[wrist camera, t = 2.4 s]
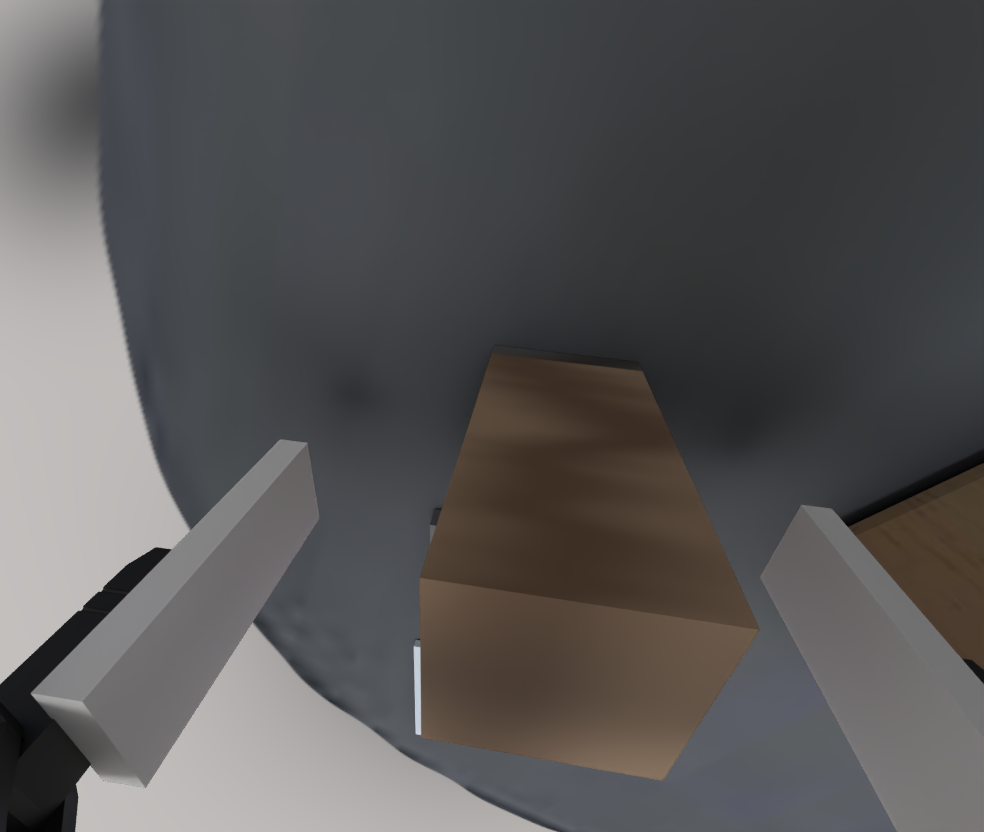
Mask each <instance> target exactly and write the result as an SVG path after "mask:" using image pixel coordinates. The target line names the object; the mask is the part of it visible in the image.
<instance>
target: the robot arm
mask: <svg viewBox="0 0 984 832" xmlns="http://www.w3.org/2000/svg"><path fill="white" fill-rule="evenodd" d="M318 520H319V512H318V506H317V500H316V494H315V487H314V481H313V475H312V468H311V462H310V456H309V450H308V443H304V442H296V441H288V440H279V441H278V442H277V443H276V444H275V445H274V446H273V447H272V448H271V449H270V450H269V451H268V452H267V453H266V454H265V455H264V456H263V458H262V459H261V460H260V461H259V462H258V463H257V464H256V465H255V466H254V467H253V468H252V469H251V470H250V471H249V472H248V473H247V474H246V475H245V476H244V477H243V478H242V479H241V480H240V481H239V482H238V483H237V484H236V485H235V486H234V487H233V488H232V489H231V490H230V491H229V492H228V493H227V494H226V495H225V496H224V497H223V498H222V499H221V500H220V501H219V502H218V503H217V504H216V505H215V506H214V507H213V508H212V509H211V510H210V511H209V512H208V513H207V514H206V515H205V516H204V518H203V519H202V520H201V521H200V522H199V523H198V524H197V525H196V526H195V527H194V528H193V529H192V530H191V531H190V532H189V533H188V534H187V535H186V536H185V537H184V538H183V539H182V540H181V541H180V542H179V543H178V544H177V545H176V546H175V547H174V548H173V549H164V548H154V549H152V550H151V551H150V552H147V553H146V554H145V555H143V556H141V557H139V558H138V559H136V560H134V561H133V562H131V563H129V564H128V565H126V566H125V567H124V568H123V569H122V570H121V571H120V572H119V573H118V574H117V575H116V576H115V577H114V578H113V579H112V580H110V581H109V582H108V583H107V584H106V585H105V586H104V587H103V590H102V592H98V593H97V594H96V595H95V596H93V597H92V598H91V599H90V600H89V601H88V602H87V603H86V604H85V605H84V606H83V610H81V611H78V612H76V614H74V615H73V616H72V617H71V618H70V619H69V620H68V621H67V622H66V623H65V624H64V625H63V626H62V627H61V628H60V629H59V630H57V631H56V632H55V633H54V634H53V635H52V636H51V637H50V638H49V639H48V640H47V641H46V642H45V643H44V644H43V645H42V646H40V647H39V648H38V649H37V650H36V651H35V652H34V653H33V654H32V655H31V656H30V657H29V658H28V659H27V660H26V661H25V662H23V664H21V665H20V666H19V667H18V668H17V669H16V670H15V671H14V672H13V673H12V674H11V675H10V676H9V677H8V678H7V679H5V680H4V681H3V682H2V683H1V684H0V832H75V827H76V826H75V825H76V815H77V805H78V793H77V788H76V783H77V782H78V781H79V779H80V778H81V776H82V775H83V774H84V773H85V771H86V770H87V769H88V767H89V766H91V767H92V768H93V769H94V770H95V772H96V773H97V774H98V775H99V776H100V778H101V779H102V780H103V781H107V782H113V783H119V784H125V785H131V786H137V787H143V788H146V787H147V785H148V783H149V782H150V780H151V779H152V777H153V776H154V774H155V773H156V771H157V770H158V768H159V766H160V765H161V763H162V762H163V760H164V759H165V757H166V756H167V754H168V752H169V751H170V749H171V748H172V746H173V745H174V743H175V742H176V740H177V738H178V737H179V735H180V734H181V732H182V731H183V729H184V728H185V726H186V725H187V723H188V721H189V720H190V718H191V717H192V715H193V714H194V712H195V711H196V709H197V708H198V706H199V704H200V703H201V701H202V700H203V698H204V697H205V695H206V694H207V692H208V690H209V689H210V687H211V686H212V684H213V683H214V681H215V679H216V678H217V677H218V675H219V673H220V672H221V670H222V669H223V667H224V666H225V664H226V662H227V661H228V659H229V658H230V656H231V655H232V653H233V652H234V650H235V649H236V647H237V646H238V644H239V642H240V641H241V639H242V638H243V636H244V635H245V633H246V632H247V630H248V628H249V627H250V625H251V624H252V622H253V621H254V619H255V618H256V616H257V614H258V613H259V611H260V610H261V608H262V607H263V605H264V604H265V602H266V601H267V599H268V597H269V596H270V594H271V593H272V591H273V590H274V588H275V587H276V585H277V583H278V582H279V580H280V579H281V577H282V576H283V574H284V573H285V571H286V570H287V568H288V566H289V565H290V563H291V562H292V560H293V559H294V557H295V556H296V554H297V552H298V551H299V549H300V548H301V546H302V545H303V543H304V542H305V540H306V538H307V537H308V535H309V534H310V532H311V531H312V529H313V528H314V526H315V525H316V523H317V521H318ZM760 579H761V580H762V582H763V584H764V586H765V588H766V590H767V592H768V593H769V595H770V597H771V599H772V601H773V603H774V605H775V606H776V608H777V610H778V612H779V614H780V616H781V618H782V619H783V621H784V623H785V625H786V627H787V629H788V630H789V632H790V634H791V636H792V638H793V640H794V642H795V643H796V645H797V647H798V649H799V651H800V653H801V655H802V656H803V658H804V660H805V662H806V664H807V666H808V668H809V669H810V671H811V673H812V675H813V677H814V679H815V681H816V682H817V684H818V686H819V688H820V690H821V692H822V693H823V695H824V697H825V699H826V701H827V703H828V705H829V706H830V708H831V710H832V712H833V714H834V716H835V718H836V719H837V721H838V723H839V725H840V727H841V729H842V731H843V732H844V734H845V736H846V738H847V740H848V742H849V743H850V745H851V747H852V749H853V751H854V753H855V755H856V756H857V758H858V760H859V762H860V764H861V766H862V768H863V769H864V771H865V773H866V775H867V777H868V779H869V781H870V782H871V784H872V786H873V788H874V790H875V792H876V794H877V795H878V797H879V799H880V801H881V803H882V805H883V806H884V808H885V810H886V812H887V814H888V816H889V818H890V819H891V821H892V823H893V825H894V827H895V829H896V831H897V832H984V670H983V669H982V668H981V667H980V666H979V665H977V664H976V663H975V662H974V661H972V660H969V659H962V658H961V657H960V656H959V655H958V654H957V653H956V652H955V650H954V649H953V648H952V647H951V646H950V645H949V644H948V642H947V641H946V640H945V639H944V638H943V637H942V635H941V634H940V633H939V632H938V631H937V630H936V628H935V627H934V626H933V625H932V624H931V623H930V622H929V620H928V619H927V618H926V617H925V616H924V615H923V613H922V612H921V611H920V610H919V609H918V608H917V607H916V605H915V604H914V603H913V602H912V601H911V600H910V598H909V597H908V596H907V595H906V594H905V593H904V592H903V590H902V589H901V588H900V587H899V586H898V585H897V583H896V582H895V581H894V580H893V579H892V578H891V576H890V575H889V574H888V573H887V572H886V571H885V570H884V568H883V567H882V566H881V565H880V564H879V563H878V561H877V560H876V559H875V558H874V557H873V556H872V555H871V553H870V552H869V551H868V550H867V549H866V548H865V546H864V545H863V544H862V543H861V542H860V541H859V539H858V538H857V537H856V536H855V535H854V534H853V533H852V531H851V530H850V529H849V528H848V527H847V526H846V524H845V523H844V522H843V521H842V520H841V519H840V518H839V516H838V515H837V514H836V513H835V512H834V511H833V509H831V508H823V507H815V506H807V505H801V506H800V508H799V509H798V511H797V513H796V515H795V516H794V518H793V520H792V522H791V523H790V525H789V527H788V529H787V530H786V532H785V534H784V536H783V537H782V539H781V541H780V543H779V544H778V546H777V548H776V550H775V551H774V553H773V555H772V557H771V558H770V560H769V562H768V564H767V565H766V567H765V569H764V571H763V572H762V574H761V576H760Z"/></svg>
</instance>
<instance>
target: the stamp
mask: <svg viewBox="0 0 984 832" xmlns="http://www.w3.org/2000/svg"><path fill="white" fill-rule="evenodd" d="M759 631H760V629H759V627H758V625H757V622H756V620H755V618H754V616H753V614H752V611H751V609H750V607H749V605H748V602H747V600H746V598H745V596H744V594H743V591H742V589H741V587H740V585H739V583H738V580H737V578H736V576H735V574H734V572H733V569H732V567H731V565H730V563H729V561H728V558H727V556H726V554H725V552H724V550H723V547H722V545H721V543H720V541H719V539H718V536H717V534H716V532H715V530H714V528H713V525H712V523H711V521H710V519H709V517H708V514H707V512H706V510H705V508H704V506H703V503H702V501H701V499H700V497H699V495H698V492H697V490H696V488H695V486H694V484H693V481H692V479H691V477H690V475H689V472H688V470H687V468H686V466H685V464H684V461H683V459H682V457H681V455H680V453H679V450H678V448H677V446H676V444H675V442H674V439H673V437H672V435H671V433H670V431H669V428H668V426H667V424H666V422H665V420H664V417H663V415H662V413H661V411H660V409H659V406H658V404H657V402H656V400H655V398H654V395H653V393H652V391H651V389H650V387H649V384H648V382H647V380H646V378H645V376H644V373H643V371H642V369H641V367H640V365H639V362H634V361H626V360H617V359H609V358H601V357H592V356H584V355H575V354H567V353H558V352H550V351H541V350H533V349H524V348H516V347H507V346H499V345H494V348H493V351H492V354H491V357H490V360H489V363H488V366H487V370H486V373H485V376H484V379H483V382H482V385H481V388H480V391H479V394H478V398H477V401H476V404H475V407H474V410H473V413H472V416H471V419H470V423H469V426H468V429H467V432H466V435H465V438H464V441H463V444H462V447H461V451H460V454H459V457H458V460H457V463H456V466H455V469H454V472H453V475H452V479H451V482H450V485H449V488H448V491H447V494H446V497H445V500H444V504H443V507H442V510H441V513H440V516H439V519H438V522H437V525H436V528H435V532H434V535H433V538H432V541H431V544H430V547H429V550H428V553H427V557H426V560H425V563H424V566H423V569H422V572H421V575H420V671H421V738H425V739H431V740H436V741H442V742H448V743H453V744H459V745H465V746H470V747H476V748H482V749H487V750H493V751H499V752H504V753H510V754H515V755H521V756H527V757H532V758H538V759H544V760H549V761H555V762H561V763H566V764H572V765H577V766H583V767H589V768H594V769H600V770H606V771H611V772H617V773H623V774H628V775H634V776H640V777H645V778H651V779H656V780H662V781H663V780H664V779H665V777H666V775H667V774H668V772H669V771H670V769H671V768H672V766H673V765H674V763H675V761H676V760H677V758H678V757H679V755H680V754H681V752H682V751H683V749H684V747H685V746H686V744H687V743H688V741H689V740H690V738H691V737H692V735H693V733H694V732H695V730H696V729H697V727H698V726H699V724H700V723H701V721H702V719H703V718H704V716H705V715H706V713H707V712H708V710H709V709H710V707H711V705H712V704H713V702H714V701H715V699H716V698H717V696H718V695H719V693H720V691H721V690H722V688H723V687H724V685H725V684H726V682H727V681H728V679H729V677H730V676H731V674H732V673H733V671H734V670H735V668H736V667H737V665H738V664H739V662H740V660H741V659H742V657H743V656H744V654H745V653H746V651H747V650H748V648H749V646H750V645H751V643H752V642H753V640H754V639H755V637H756V636H757V634H758V632H759Z"/></svg>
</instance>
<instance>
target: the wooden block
mask: <svg viewBox="0 0 984 832" xmlns="http://www.w3.org/2000/svg"><path fill="white" fill-rule="evenodd" d="M848 528H849V529H850V530H851V531H852V533H853V534H854V535H855V536H856V537H857V538H858V539H859V541H860V542H861V543H862V544H863V545H864V546H865V548H866V549H867V550H868V551H869V552H870V553H871V555H872V556H873V557H874V558H875V559H876V560H877V561H878V563H879V564H880V565H881V566H882V567H883V568H884V570H885V571H886V572H887V573H888V574H889V575H890V576H891V578H892V579H893V580H894V581H895V582H896V583H897V585H898V586H899V587H900V588H901V589H902V590H903V592H904V593H905V594H906V595H907V596H908V597H909V598H910V600H911V601H912V602H913V603H914V604H915V605H916V607H917V608H918V609H919V610H920V611H921V612H922V613H923V615H924V616H925V617H926V618H927V619H928V620H929V622H930V623H931V624H932V625H933V626H934V627H935V628H936V630H937V631H938V632H939V633H940V634H941V635H942V637H943V638H944V639H945V640H946V641H947V642H948V644H949V645H950V646H951V647H952V648H953V649H954V650H955V652H956V653H957V654H958V655H959V656H960V657H961V658H962V659H969V660H972V661H974V662H975V663H976V664H977V665H979V666H980V667H981V668H982V669H983V670H984V463H983V464H981V465H978V466H976V467H974V468H972V469H970V470H968V471H966V472H964V473H961V474H959V475H957V476H955V477H953V478H951V479H949V480H947V481H945V482H942V483H940V484H938V485H936V486H934V487H932V488H930V489H928V490H925V491H923V492H921V493H919V494H917V495H915V496H913V497H911V498H909V499H906V500H904V501H902V502H900V503H898V504H896V505H894V506H892V507H889V508H887V509H885V510H883V511H881V512H879V513H877V514H875V515H873V516H870V517H868V518H866V519H864V520H862V521H860V522H858V523H856V524H854V525H851V526H849V527H848Z"/></svg>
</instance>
